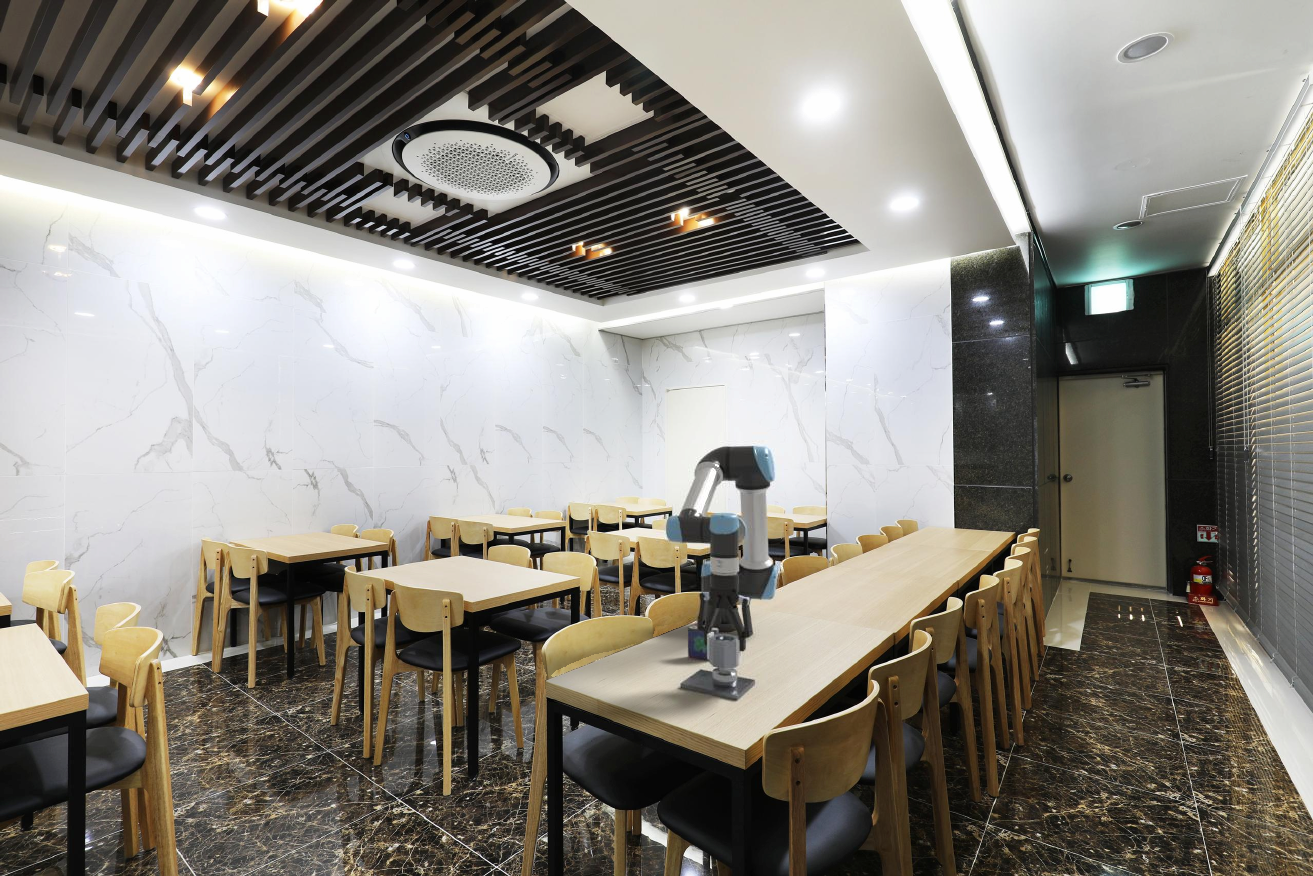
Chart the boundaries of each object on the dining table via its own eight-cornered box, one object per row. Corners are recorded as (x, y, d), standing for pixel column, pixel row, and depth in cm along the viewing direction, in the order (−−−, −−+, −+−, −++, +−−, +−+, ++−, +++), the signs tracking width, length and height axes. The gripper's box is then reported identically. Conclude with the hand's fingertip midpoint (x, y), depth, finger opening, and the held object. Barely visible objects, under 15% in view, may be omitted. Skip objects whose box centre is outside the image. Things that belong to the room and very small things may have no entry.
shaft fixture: (700, 673, 171) (700, 630, 171) (755, 684, 163) (754, 638, 163) (680, 688, 160) (680, 641, 161) (737, 700, 152) (737, 651, 153)
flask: (719, 657, 184) (718, 621, 184) (717, 661, 181) (717, 624, 181) (688, 655, 186) (688, 620, 186) (687, 659, 183) (686, 622, 183)
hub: (717, 657, 166) (717, 632, 166) (743, 661, 162) (743, 636, 162) (705, 665, 159) (705, 639, 159) (732, 670, 156) (732, 644, 156)
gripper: (683, 571, 163) (683, 658, 163) (755, 579, 153) (756, 671, 152) (696, 566, 170) (696, 650, 169) (766, 574, 159) (766, 663, 159)
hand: (724, 660), depth 161 cm, fingers closed on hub, 7 cm apart
